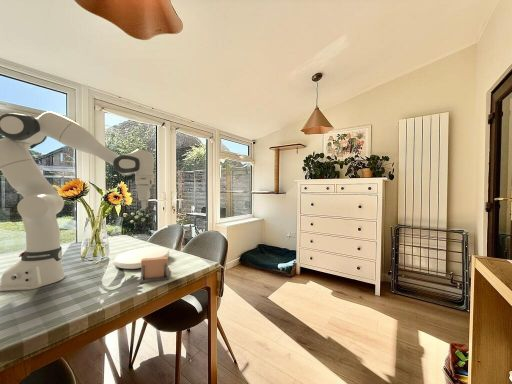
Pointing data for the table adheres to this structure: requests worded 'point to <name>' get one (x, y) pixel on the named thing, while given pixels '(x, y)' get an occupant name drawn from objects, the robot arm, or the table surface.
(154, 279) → the rack
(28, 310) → the table surface
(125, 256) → the plate
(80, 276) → the table surface
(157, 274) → the tile
